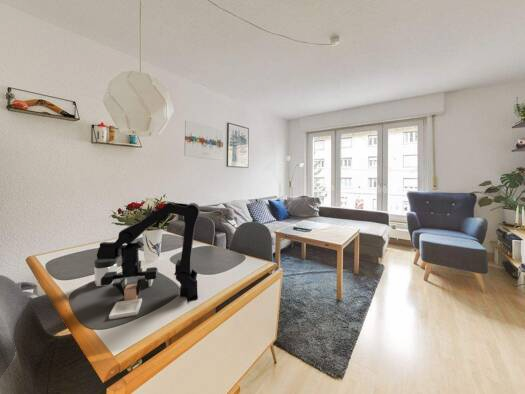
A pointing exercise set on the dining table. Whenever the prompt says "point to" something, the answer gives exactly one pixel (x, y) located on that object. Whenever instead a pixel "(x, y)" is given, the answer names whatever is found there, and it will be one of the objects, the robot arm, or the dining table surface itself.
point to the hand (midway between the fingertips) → (131, 296)
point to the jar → (103, 269)
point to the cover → (141, 271)
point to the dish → (125, 308)
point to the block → (130, 292)
